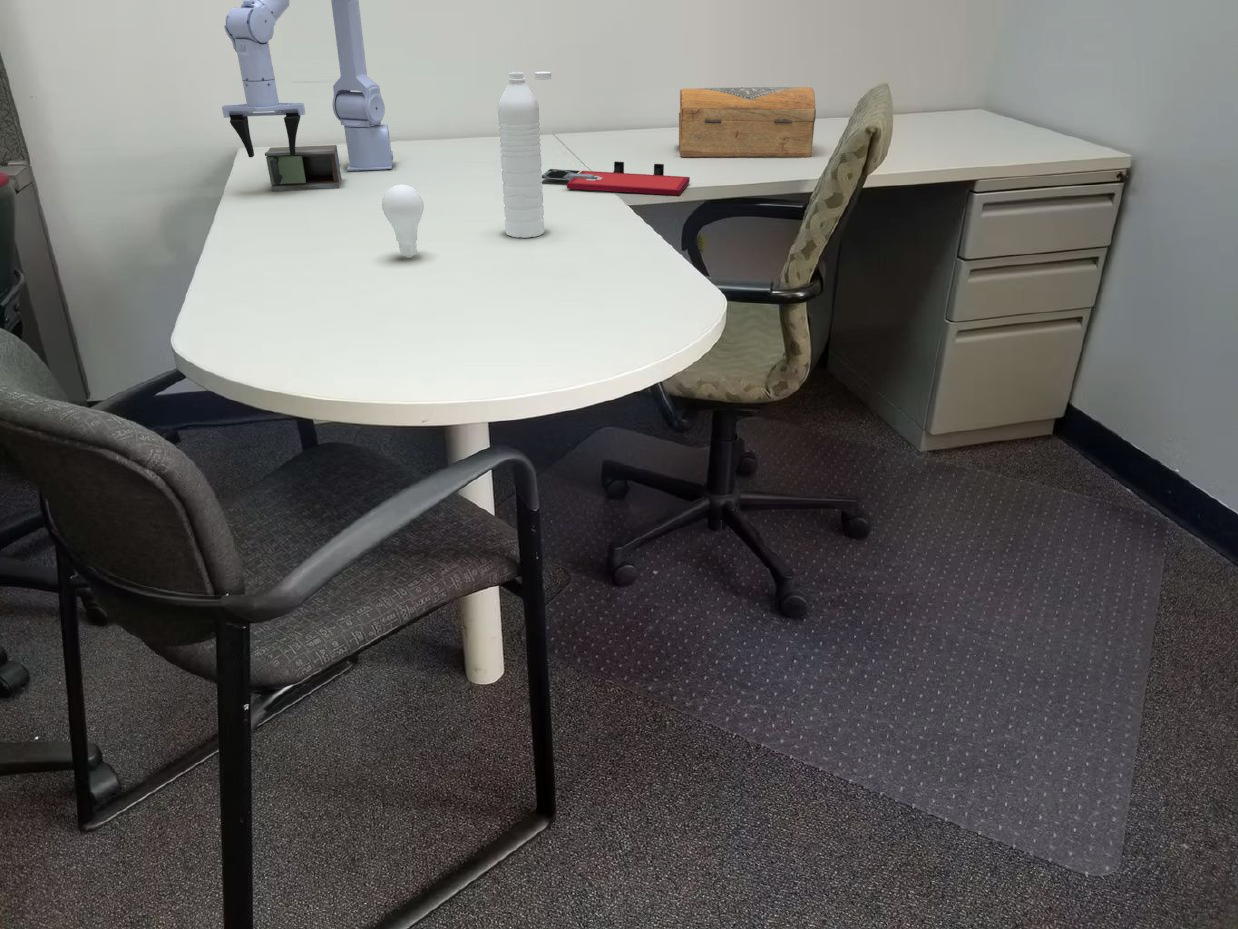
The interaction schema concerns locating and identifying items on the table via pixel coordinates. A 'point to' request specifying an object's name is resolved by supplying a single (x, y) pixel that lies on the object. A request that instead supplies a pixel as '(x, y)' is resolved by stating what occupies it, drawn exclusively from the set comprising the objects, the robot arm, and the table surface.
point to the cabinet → (313, 167)
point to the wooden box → (747, 122)
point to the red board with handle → (622, 180)
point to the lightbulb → (404, 216)
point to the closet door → (286, 169)
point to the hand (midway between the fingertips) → (272, 155)
